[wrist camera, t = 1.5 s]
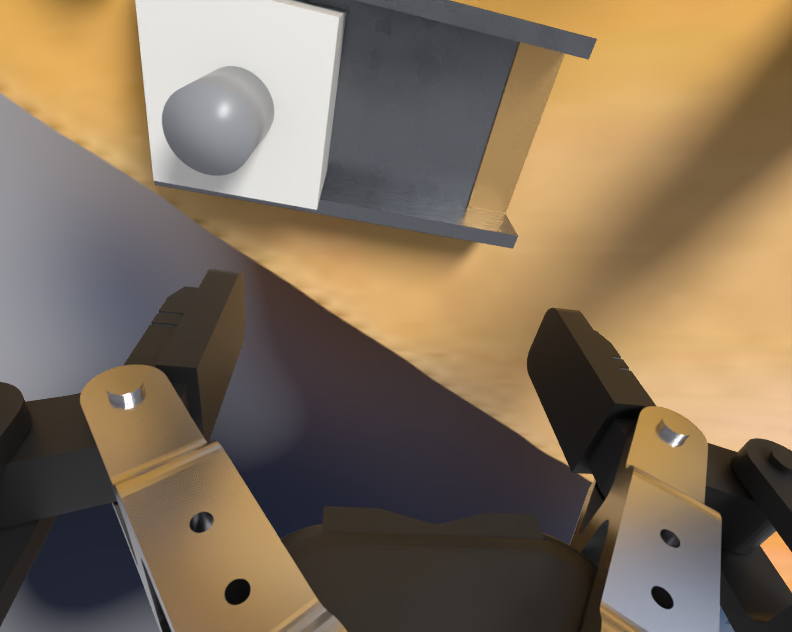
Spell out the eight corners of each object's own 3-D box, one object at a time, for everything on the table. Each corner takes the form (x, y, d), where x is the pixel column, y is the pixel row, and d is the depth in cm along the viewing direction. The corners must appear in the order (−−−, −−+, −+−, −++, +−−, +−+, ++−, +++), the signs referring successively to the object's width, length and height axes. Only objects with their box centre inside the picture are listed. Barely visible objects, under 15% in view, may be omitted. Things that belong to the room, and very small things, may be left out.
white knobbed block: (185, -30, 25) (65, -40, 15) (346, 10, 27) (330, 24, 17) (194, 144, 31) (109, 219, 21) (326, 170, 32) (306, 252, 22)
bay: (167, -73, 25) (128, -84, 21) (565, 31, 29) (596, 39, 25) (182, 160, 33) (155, 184, 28) (497, 219, 36) (512, 248, 32)
